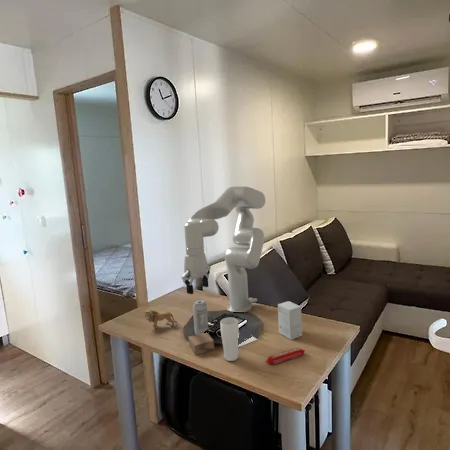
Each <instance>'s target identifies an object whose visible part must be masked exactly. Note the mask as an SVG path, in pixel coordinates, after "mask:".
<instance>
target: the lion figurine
mask: <svg viewBox="0 0 450 450" xmlns="http://www.w3.org/2000/svg"><path fill="white" fill-rule="evenodd" d="M143 317H144V319H145V321H149V323H152V324H153V325H152V327H153V329H155V330H157V328H158V322H161V321H164V320H167V322H165V325H169V323H171V327H175V324H177V323H178V321H176V320H175V318H174V315H173V314H172V313H171V312H170V311H164V312H158V311H156V310H153V309H146V310H145V311H144V316H143Z"/></svg>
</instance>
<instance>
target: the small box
mask: <svg viewBox="0 0 450 450" xmlns="http://www.w3.org/2000/svg"><path fill="white" fill-rule="evenodd" d="M277 315H278V318H277V319H278V321H277V322H278V334H281V335H283V337H285V338H287V339H289V340H290V341H291V340H295V339H297V338H300V337H302V336H303V323H302V321H303V320H302V306H300V305H298V304H296V303H294V302H291V301H290V300H289V301H283V302H282V303H278V304H277Z"/></svg>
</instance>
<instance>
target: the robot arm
mask: <svg viewBox="0 0 450 450" xmlns="http://www.w3.org/2000/svg"><path fill="white" fill-rule="evenodd" d="M265 204H266V195H265V194H264V192H262V191H260V190H258V189H255V188H253V187H249V186H230V187H228V188H226V190H225V191H223V193H221V195H220V196H219V197H218V198H216V200H215V201H214V202H212V203H210V204H208V205H206V206H204V207H201V209H198V210H197V211H196V212H195V213H194V214H192V216H191V217H190V218H189V219H188V221H187V222H186V223H184V226H183V227H184V239H185V252H186V255H185V256H184V262H183V263H184V267H183V268H184V271H183V272H184V273H183V274H182V275H181V279H182V282H183V283H184V284H185V285H186V288H185V289H186V293H187V294H189V295H194V286H193V283H194V280H197V279H199V278H201V286H202V287H204V288H209V278H210V276H209V275H210V271H211V268H212V267H211V265H208V262H207V256H206V253H205V244H204V243H205V241H204V238H205V237H206V238H209V237H214V236H215V235H216V234H218V232H219V228H220V227H219V226H220V225H219V223H218V222H217V221H216V220H219V219H222V218H225V217H226V218H227V216H229V214H230V213H231V212H232V210H234V208H235V211H236V214H237V218H236V224H235V227H234V231H233V234H232V241H233V242H232V243H234V245H237V246H233V247H232V246H231V247H229V248H227V249H226V251H224V252H225V254H224V261H225V266H226V271H227V279H228V297H229V298H228V299H229V303H228V304H227V305H226V309H227V311H228V312H229V313H233V312H244V313H247V312H249V311H251V310H252V308H253V305H252V304H254V303H257V302H258V299H257V298H254V297H249V287H248V272H247V271H246V269H255V268H257V267H258V266H259V264H260V261H261V255H262V252H263V247H264V243H265V234H264V231H263V230H262V229H261V228H258V227H254V221H255V219H254V218H255V217H254V215H253V212H251V210H252V209H254V210H257V209H258V210H259V209H263V208H264V206H265ZM250 209H251V210H250ZM239 246H242V247H239ZM247 247H248V248H247Z"/></svg>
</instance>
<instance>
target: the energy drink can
mask: <svg viewBox="0 0 450 450" xmlns="http://www.w3.org/2000/svg"><path fill="white" fill-rule="evenodd" d="M192 316H193V324H194V325H193V328H194V335H198V334H202V333H204V332H205V331H206V330H207V329H208V330H209V319H208V318H209V317H208V316H209V315H208V305H207V303H206V301H205V300H204V299H197V300H194V301H193V304H192Z"/></svg>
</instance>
